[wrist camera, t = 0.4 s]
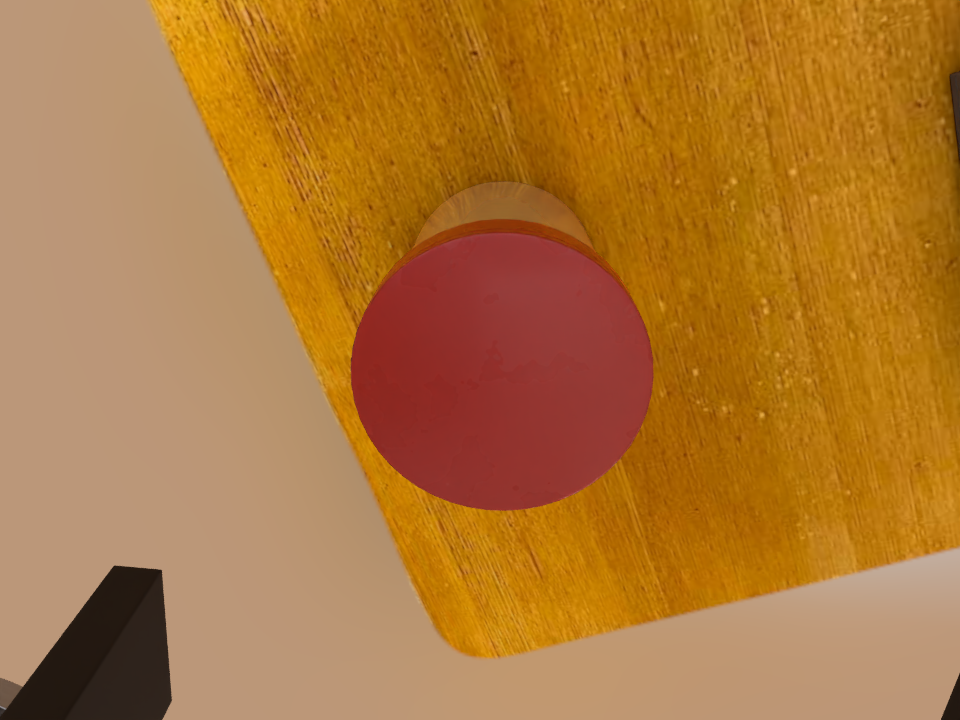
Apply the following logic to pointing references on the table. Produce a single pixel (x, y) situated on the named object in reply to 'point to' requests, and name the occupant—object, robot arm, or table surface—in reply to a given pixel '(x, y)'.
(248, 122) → the table surface
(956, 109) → the tray
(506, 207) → the jar
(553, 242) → the jar lid
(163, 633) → the robot arm
